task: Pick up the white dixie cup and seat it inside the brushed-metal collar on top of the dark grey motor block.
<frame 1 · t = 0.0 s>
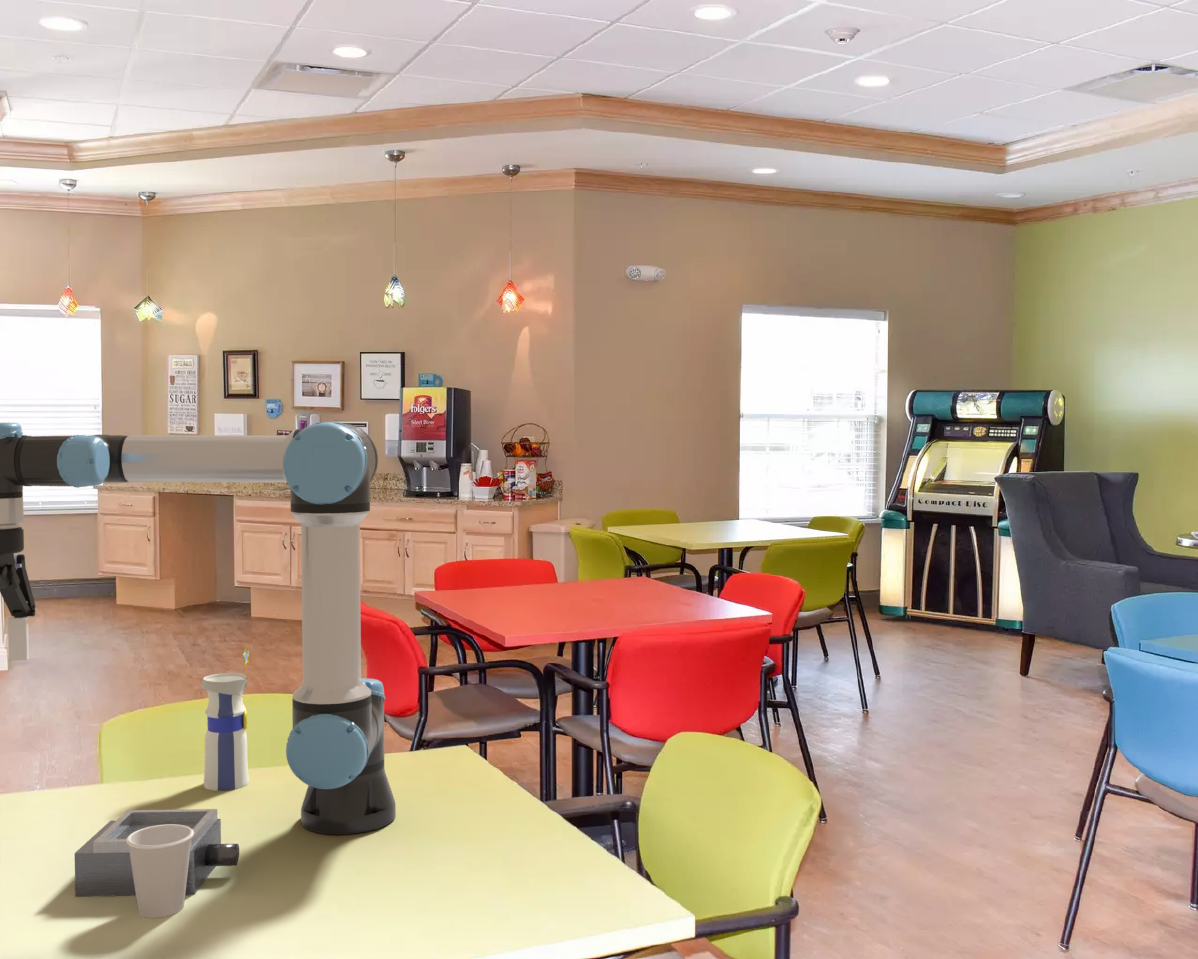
dixie cup: (161, 910, 151), on the table
motor block: (151, 876, 162), on the table
water bottle: (227, 784, 205), on the table
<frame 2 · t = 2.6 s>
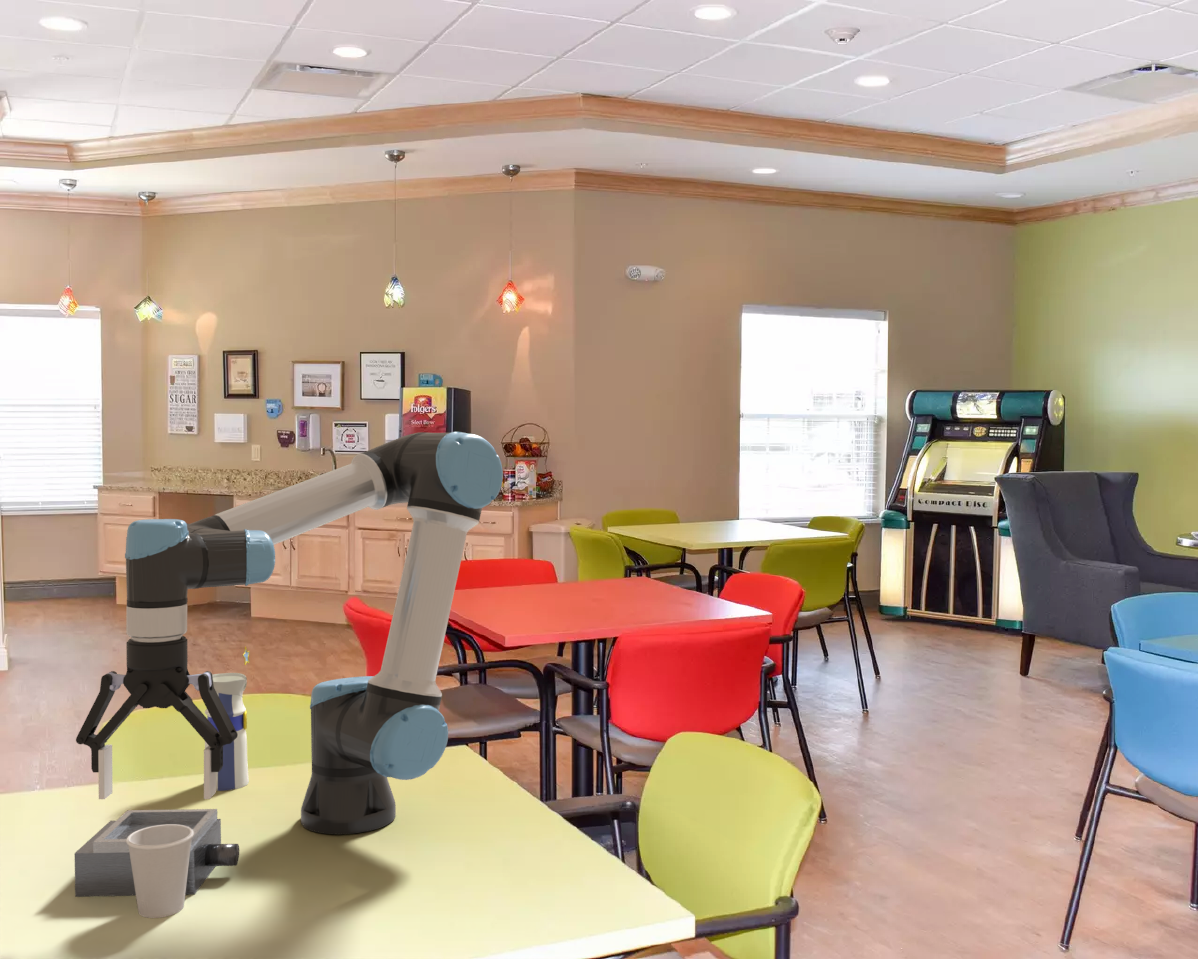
hand: (157, 796, 151), 15 cm above the table, fingers open, 13 cm apart
nothing on the table moved.
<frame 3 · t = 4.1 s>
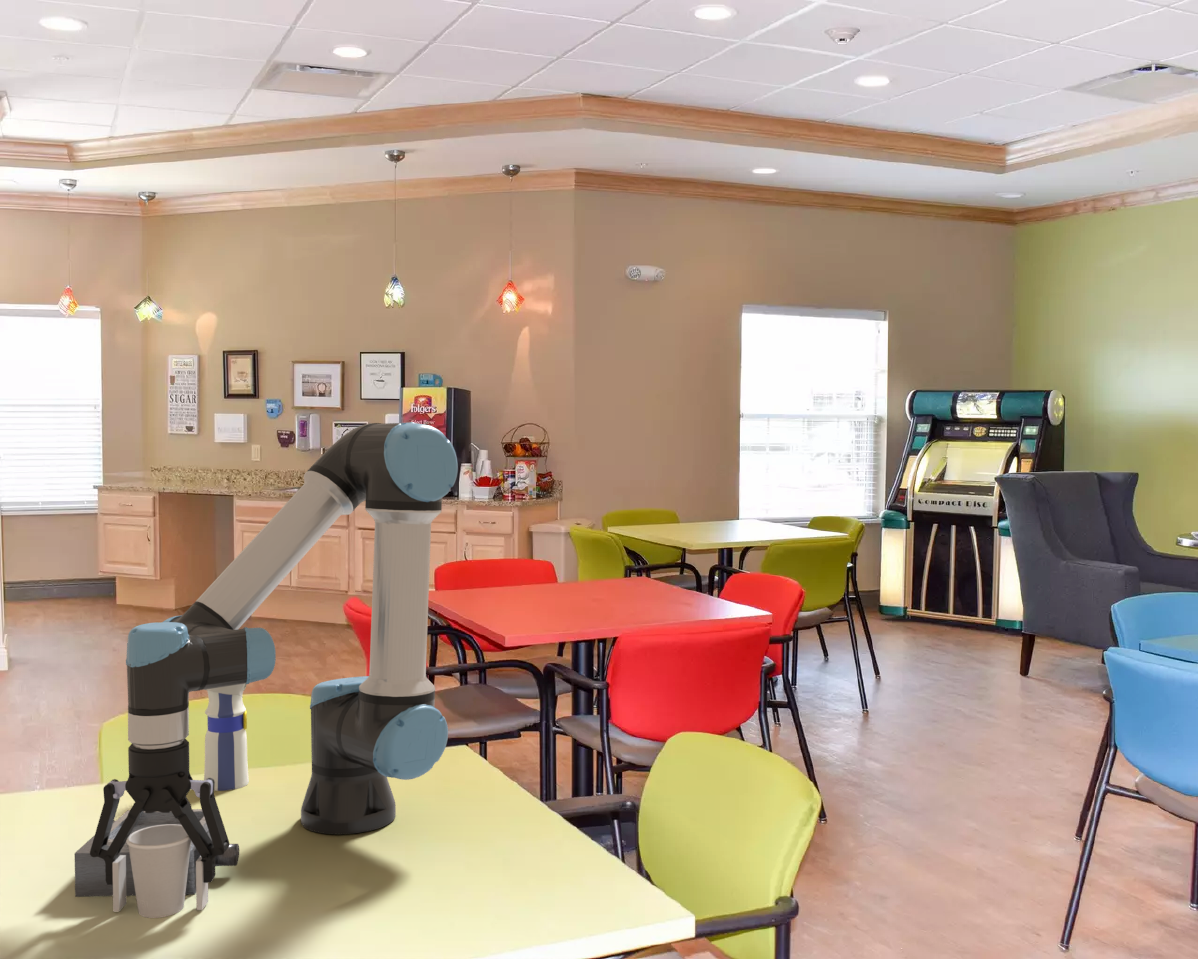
hand: (161, 906, 151), 0 cm above the table, fingers open, 10 cm apart
nothing on the table moved.
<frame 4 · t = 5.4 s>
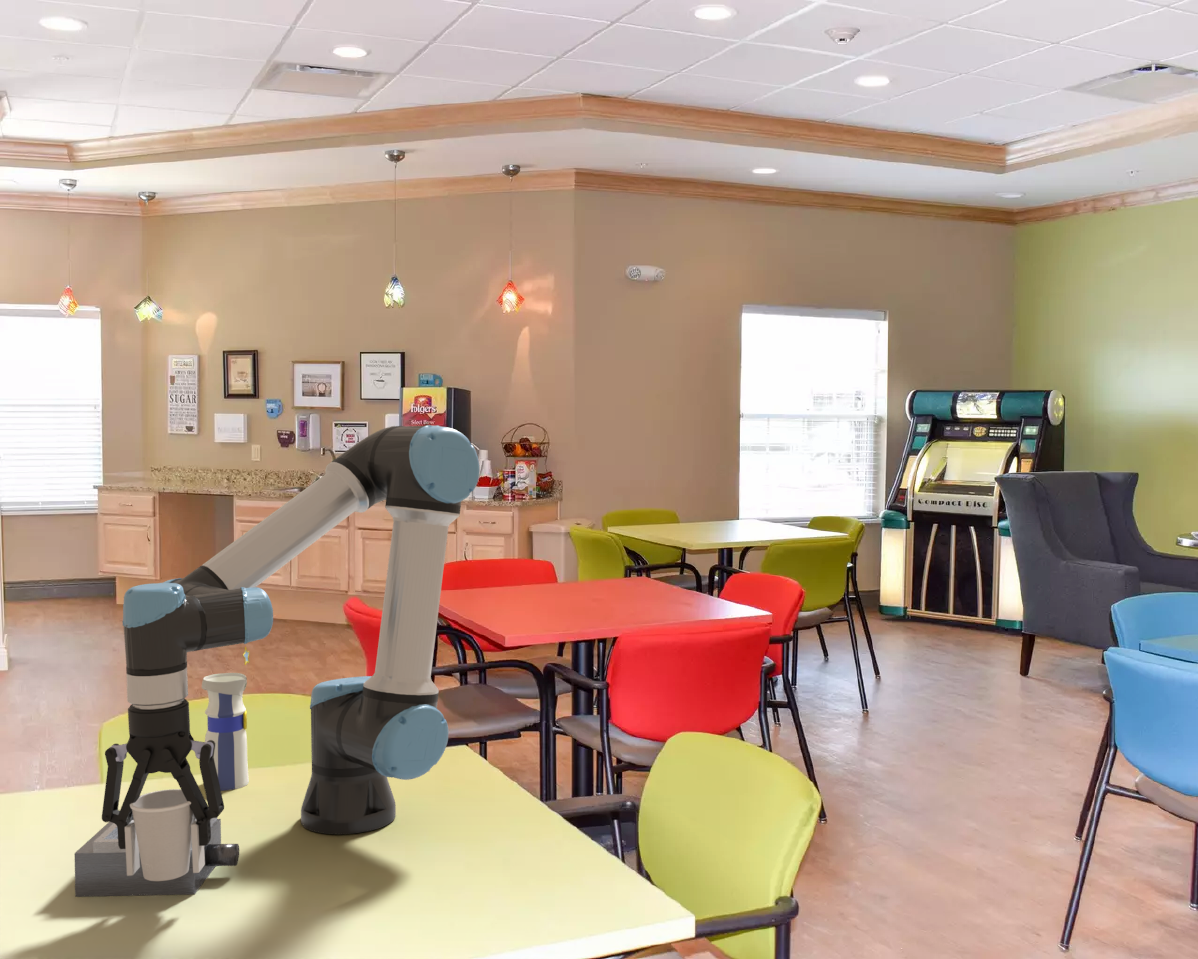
hand: (166, 869, 152), 5 cm above the table, fingers closed on dixie cup, 8 cm apart
dixie cup: (166, 874, 152), point 4 cm above the table, touching gripper
everything else where it was.
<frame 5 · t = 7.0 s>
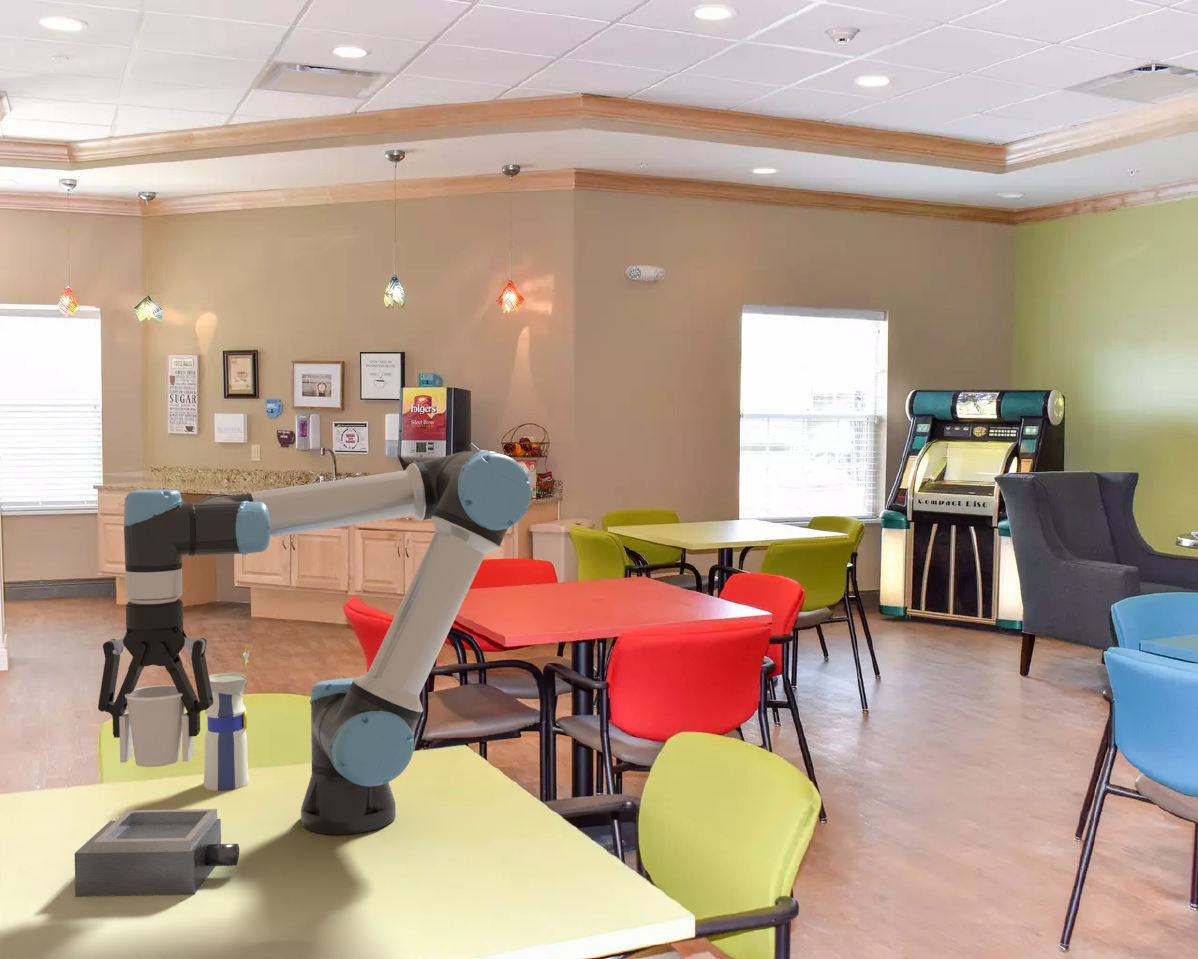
hand: (157, 759, 161), 17 cm above the table, fingers closed on dixie cup, 8 cm apart
dixie cup: (157, 762, 161), point 16 cm above the table, touching gripper
everything else where it was.
when the fingers open (8 cm above the table, at t = 9.0 s): dixie cup drops 2 cm, resting on motor block.
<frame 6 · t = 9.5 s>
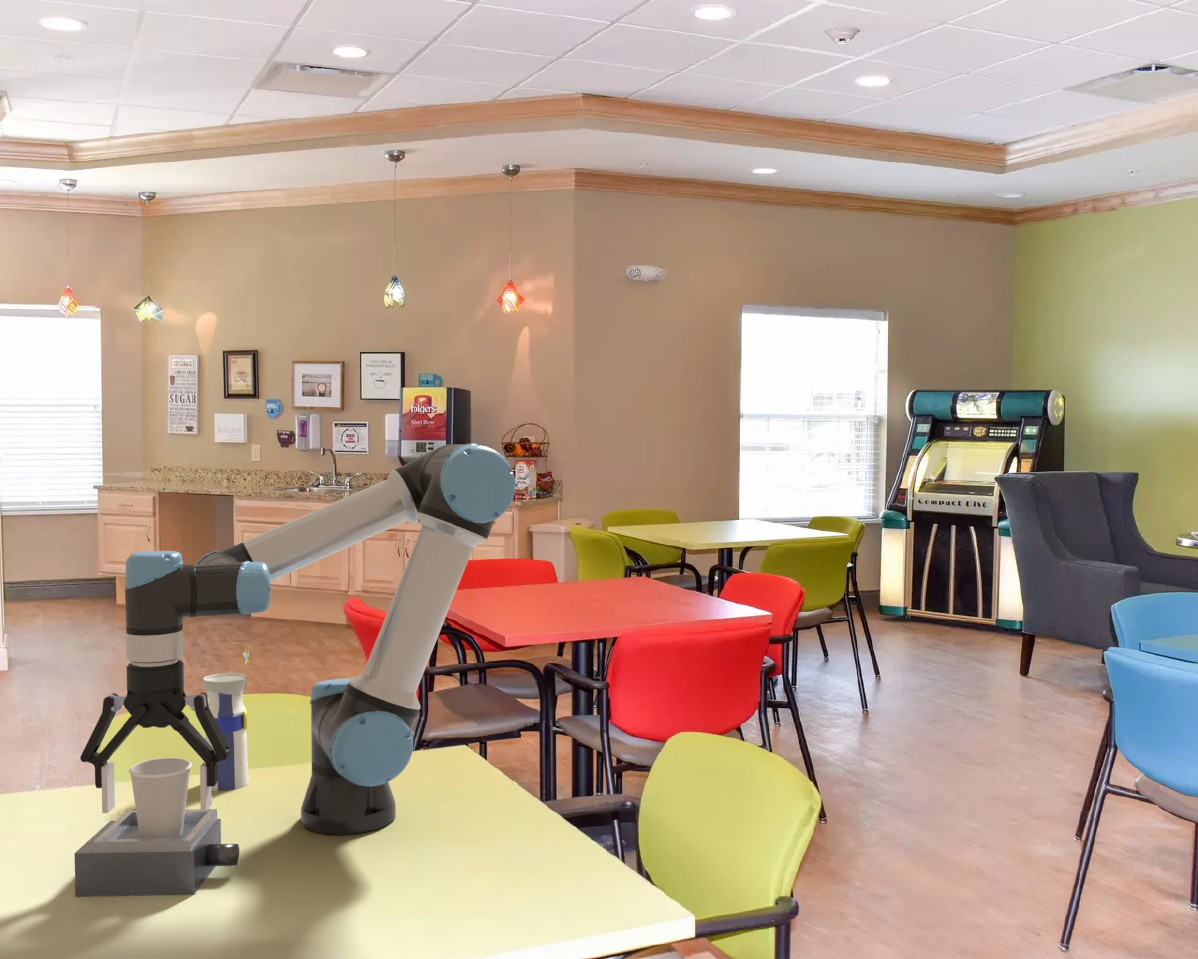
hand: (157, 809, 162), 10 cm above the table, fingers open, 13 cm apart
dixie cup: (161, 836, 162), point 6 cm above the table, touching motor block
everything else where it was.
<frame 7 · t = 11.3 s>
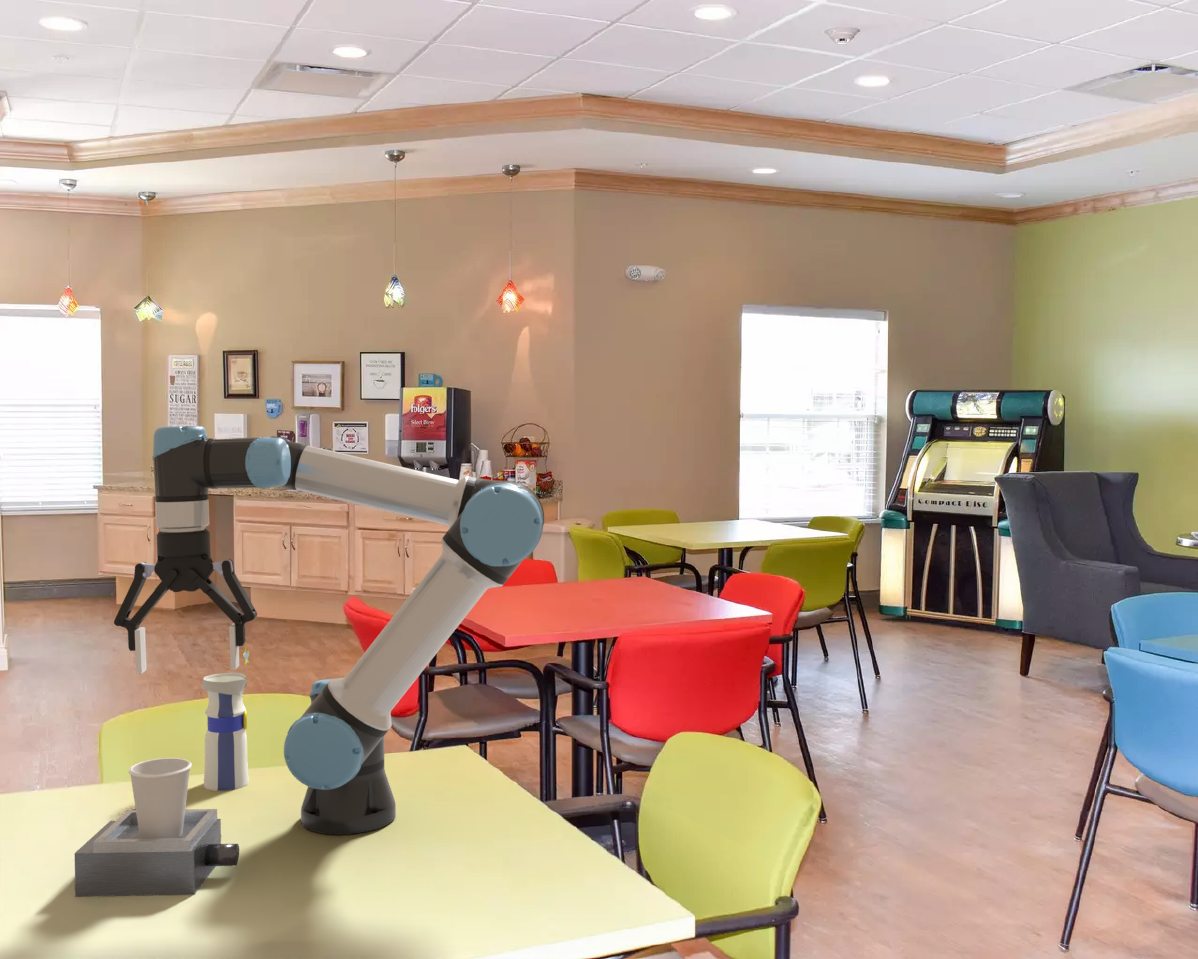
hand: (188, 670, 171), 27 cm above the table, fingers open, 13 cm apart
nothing on the table moved.
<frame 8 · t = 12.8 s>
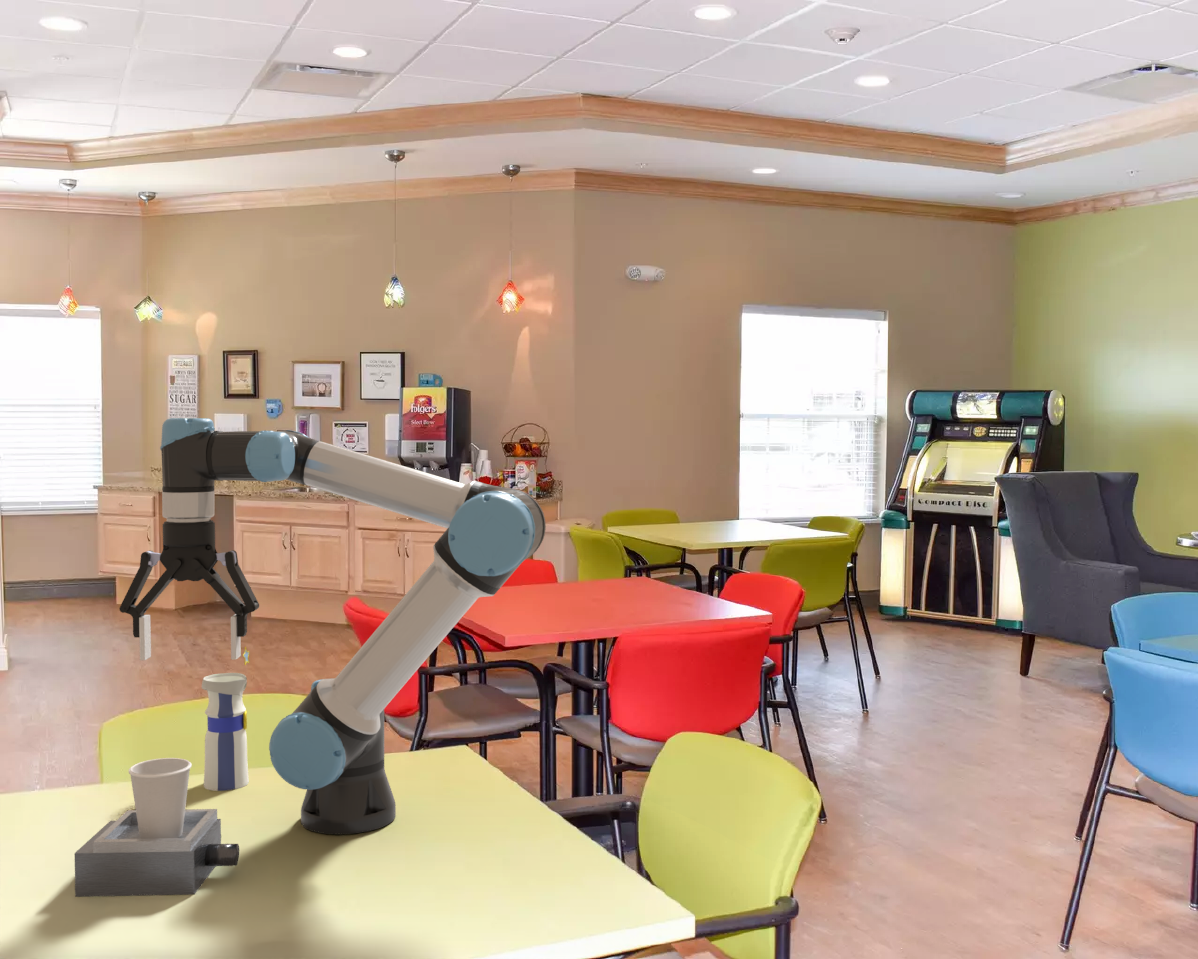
hand: (190, 658, 174), 29 cm above the table, fingers open, 13 cm apart
nothing on the table moved.
at the end: dixie cup inside the target area on the motor block (0.5 cm from its centre), point 5.8 cm above the motor block's base; dixie cup tilted 0°; the gripper is holding nothing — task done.
